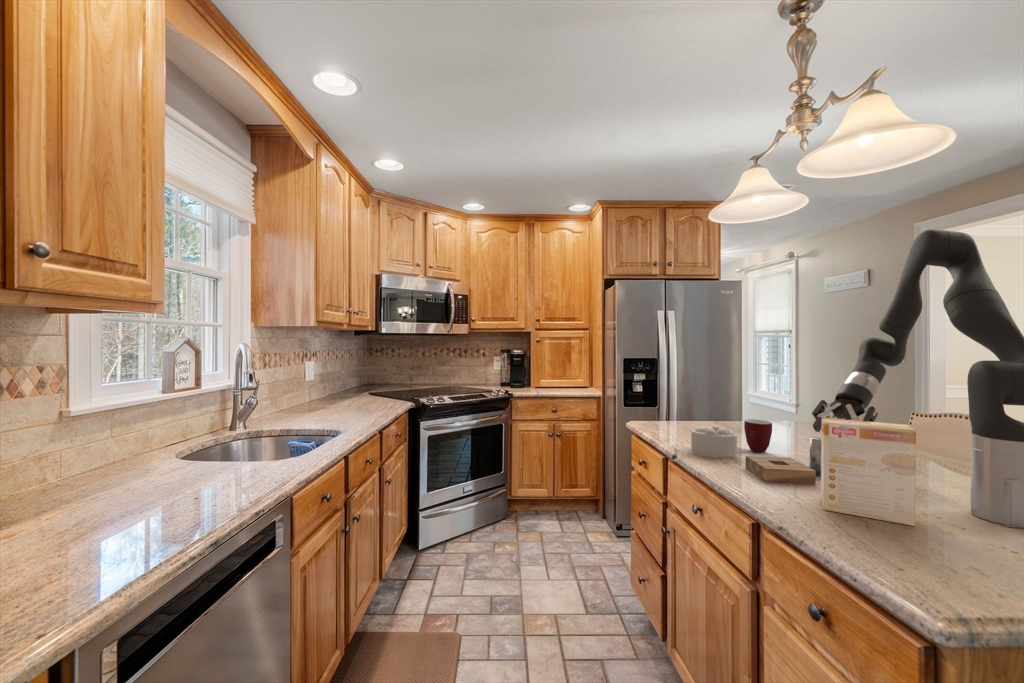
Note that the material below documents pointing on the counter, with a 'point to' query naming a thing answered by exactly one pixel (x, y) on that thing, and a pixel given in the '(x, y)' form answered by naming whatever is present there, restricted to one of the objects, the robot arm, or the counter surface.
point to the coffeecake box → (869, 469)
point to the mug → (758, 434)
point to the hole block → (780, 470)
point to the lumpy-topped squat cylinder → (713, 442)
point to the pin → (815, 455)
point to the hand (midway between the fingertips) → (831, 433)
